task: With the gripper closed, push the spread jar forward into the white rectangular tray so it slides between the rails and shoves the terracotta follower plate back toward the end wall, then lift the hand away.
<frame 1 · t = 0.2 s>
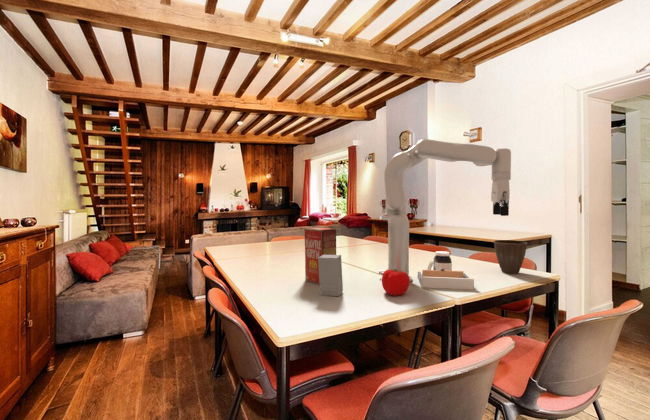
hand: (500, 215, 144), 31 cm above the table, tool pointing down, fingers open, 9 cm apart
food packaging: (320, 281, 151), on the table
follower: (442, 274, 150), point 3 cm above the table, slide at 0.0 cm
white rectangular tray: (443, 282, 148), on the table
plant pot: (509, 272, 166), on the table
tomato: (395, 294, 131), on the table
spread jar: (438, 275, 162), on the table
skincare box: (330, 294, 131), on the table
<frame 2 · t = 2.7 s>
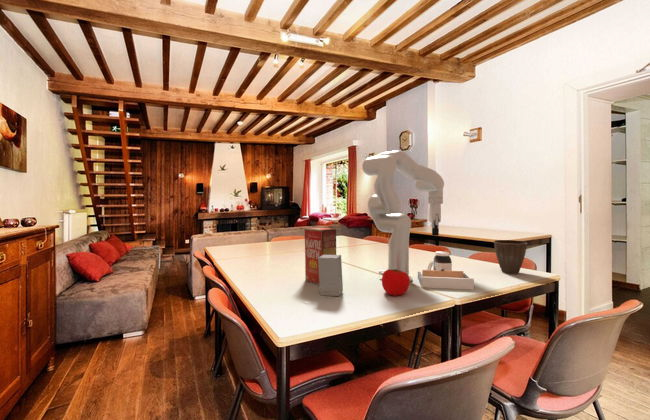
hand: (435, 235, 172), 19 cm above the table, tool pointing down, fingers closed
nothing on the table moved.
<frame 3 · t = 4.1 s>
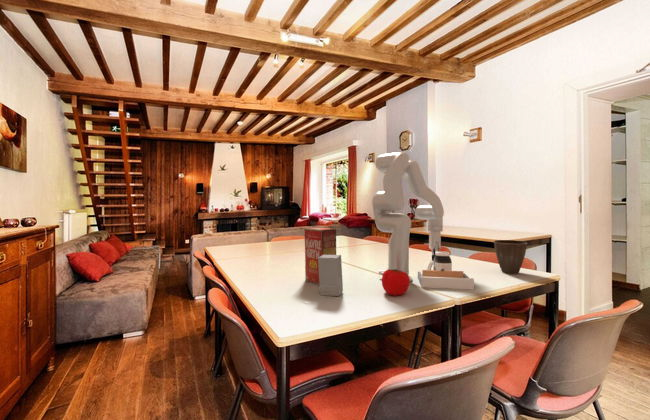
hand: (435, 262, 173), 4 cm above the table, tool pointing down, fingers closed
nothing on the table moved.
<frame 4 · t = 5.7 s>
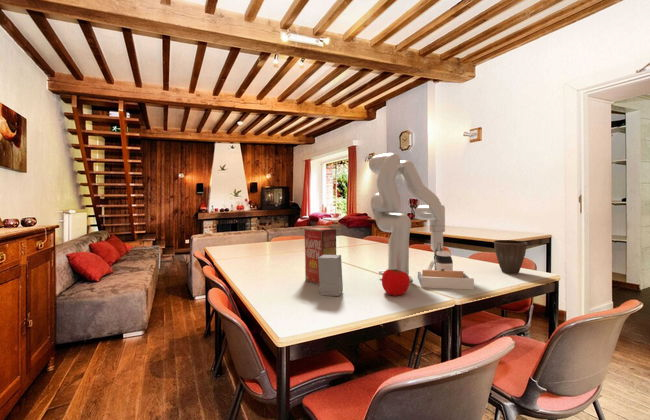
hand: (437, 263, 167), 5 cm above the table, tool pointing down, fingers closed
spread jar: (439, 274, 162), on the table, touching gripper
everything else where it was.
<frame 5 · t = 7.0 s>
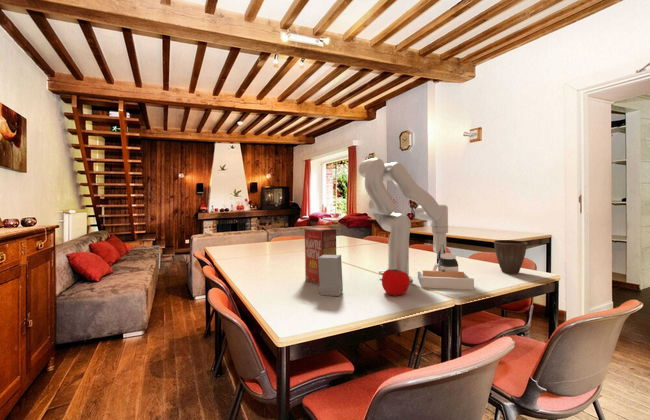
hand: (440, 266, 160), 5 cm above the table, tool pointing down, fingers closed
follower: (443, 275, 148), point 3 cm above the table, slide at 1.3 cm
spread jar: (443, 278, 155), on the table, touching gripper
everything else where it was.
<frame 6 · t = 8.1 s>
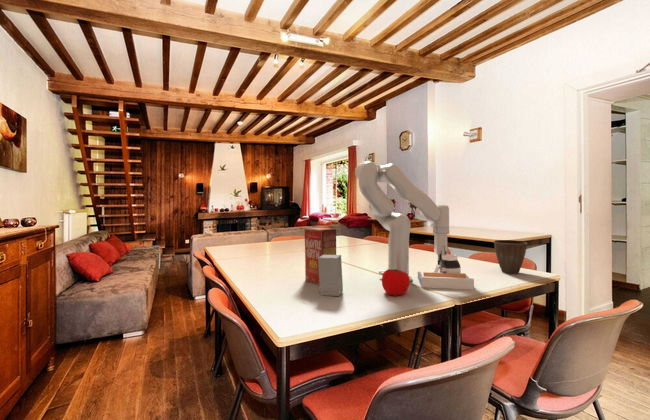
hand: (441, 268, 157), 5 cm above the table, tool pointing down, fingers closed
follower: (444, 277, 145), point 3 cm above the table, slide at 4.8 cm, touching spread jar
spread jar: (445, 280, 151), on the table, touching follower, gripper
everything else where it was.
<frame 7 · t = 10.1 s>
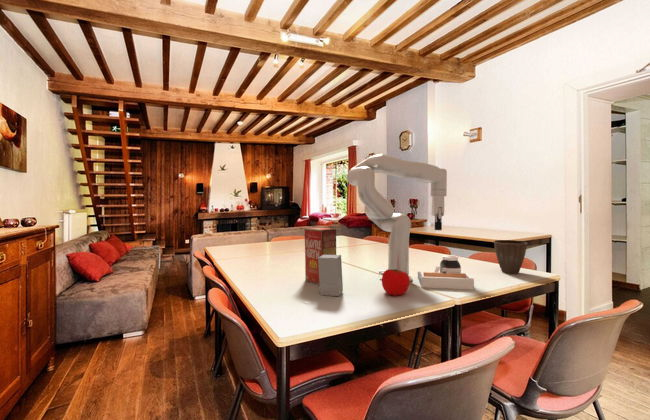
hand: (438, 230, 161), 23 cm above the table, tool pointing down, fingers closed
follower: (444, 277, 145), point 3 cm above the table, slide at 4.9 cm
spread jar: (445, 281, 151), on the table
everything else where it was.
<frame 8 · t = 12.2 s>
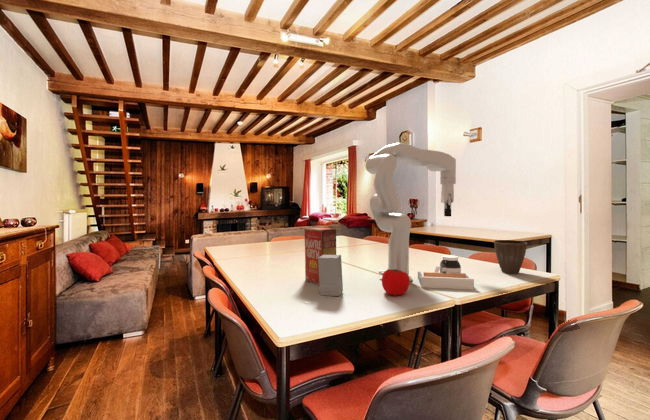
hand: (447, 216, 169), 29 cm above the table, tool pointing down, fingers closed
nothing on the table moved.
at the end: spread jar inside the target area on the white rectangular tray (4.6 cm from its centre), point 0.0 cm above the white rectangular tray's base; follower slide at 4.9 cm; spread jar tilted 0° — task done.
